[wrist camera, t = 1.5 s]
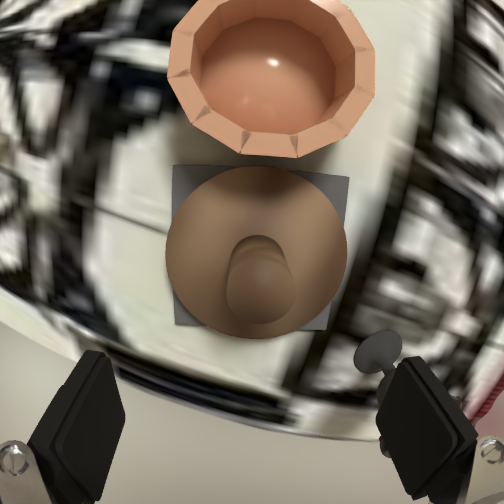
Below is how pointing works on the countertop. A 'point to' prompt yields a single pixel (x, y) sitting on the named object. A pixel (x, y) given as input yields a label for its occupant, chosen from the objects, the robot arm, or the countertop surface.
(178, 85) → the bowl
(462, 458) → the robot arm
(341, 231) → the lid
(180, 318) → the mat
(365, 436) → the countertop surface
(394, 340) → the sundae
